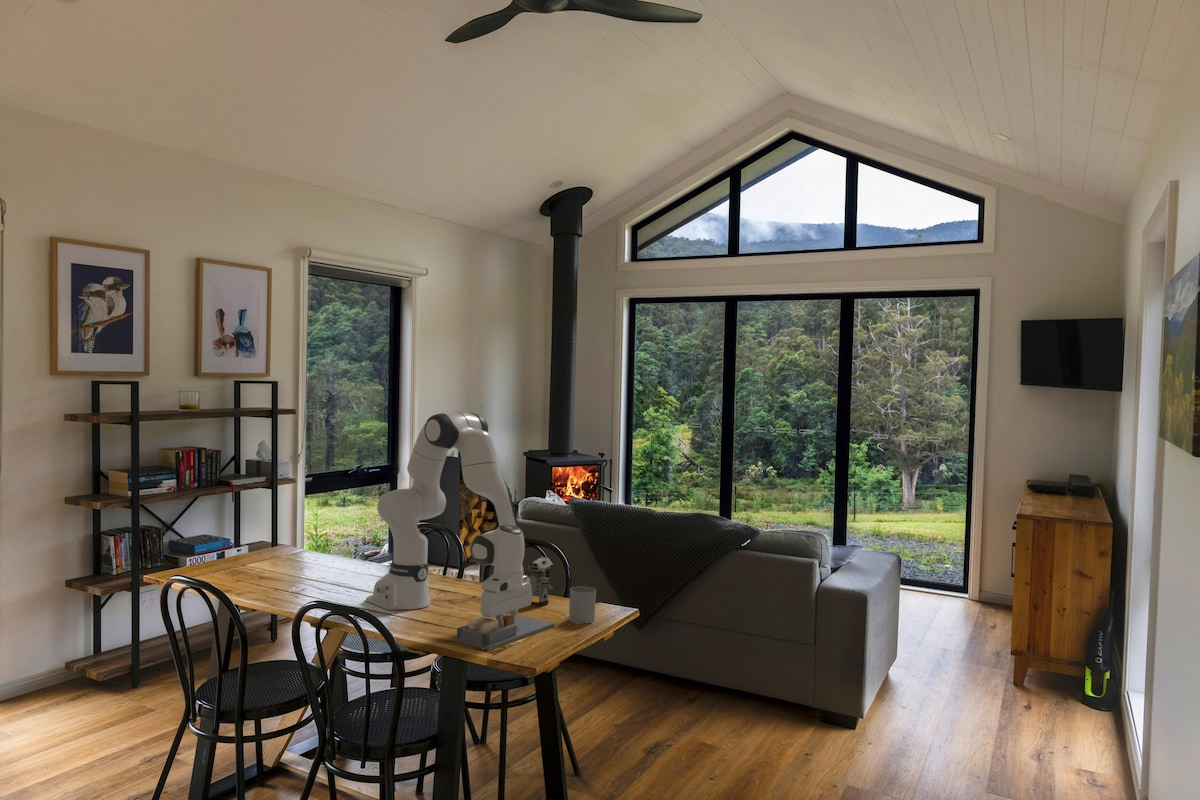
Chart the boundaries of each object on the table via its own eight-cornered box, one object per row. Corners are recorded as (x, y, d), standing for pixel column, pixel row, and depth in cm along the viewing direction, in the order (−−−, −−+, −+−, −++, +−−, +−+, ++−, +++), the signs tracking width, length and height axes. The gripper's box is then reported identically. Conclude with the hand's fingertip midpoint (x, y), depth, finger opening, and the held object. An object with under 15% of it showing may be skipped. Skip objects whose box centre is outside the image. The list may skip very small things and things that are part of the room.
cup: (600, 620, 264) (601, 590, 264) (582, 625, 258) (583, 594, 258) (580, 615, 270) (582, 585, 270) (563, 619, 264) (564, 588, 264)
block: (468, 638, 237) (468, 621, 237) (501, 627, 249) (502, 610, 249) (483, 642, 233) (484, 625, 233) (517, 631, 246) (517, 614, 246)
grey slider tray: (454, 641, 237) (454, 627, 237) (521, 618, 263) (522, 606, 263) (488, 650, 230) (488, 636, 230) (554, 626, 256) (554, 613, 256)
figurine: (558, 601, 286) (560, 558, 286) (538, 607, 277) (539, 563, 276) (538, 596, 291) (540, 554, 291) (517, 602, 282) (519, 559, 282)
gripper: (521, 572, 257) (520, 616, 257) (477, 584, 240) (475, 631, 240) (537, 576, 253) (535, 620, 253) (494, 588, 236) (492, 635, 236)
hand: (506, 625), depth 246 cm, fingers closed on block, 3 cm apart
